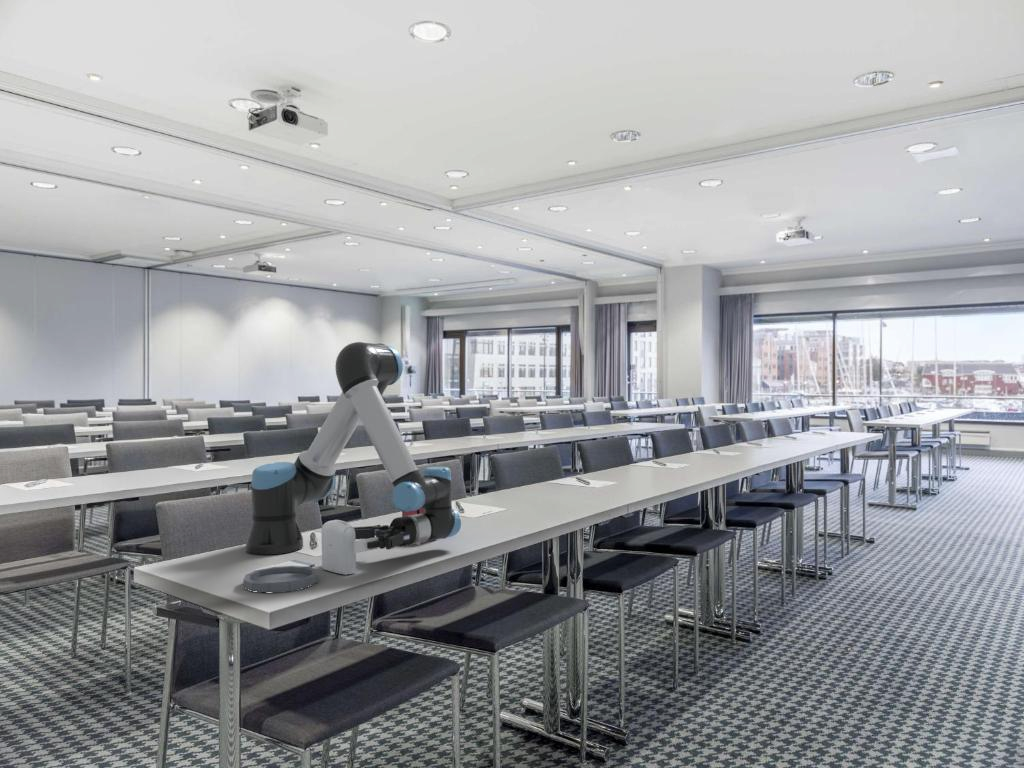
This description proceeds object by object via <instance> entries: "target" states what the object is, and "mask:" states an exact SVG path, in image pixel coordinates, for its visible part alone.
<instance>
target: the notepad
mask: <svg viewBox="0 0 1024 768" xmlns="http://www.w3.org/2000/svg"><path fill="white" fill-rule="evenodd" d="M282 566H304V567H310V568H312V567H311V566H314V567H316V566H315V563H312V562H311V563H310V562H308V561H307V562H306V561H302V560H298V559H293V560H289V561H285V562H280V563H276V564H272V565H267V566H264V567H260V568H255V569H253V572H254V571H256V570H261V569H266V568H272V567H282Z"/></svg>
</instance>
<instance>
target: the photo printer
mask: <svg viewBox="0 0 1024 768" xmlns="http://www.w3.org/2000/svg"><path fill="white" fill-rule="evenodd" d="M353 527H354V526H352V525H351V524H350V523H348V522H347V521H344V520H340V519H334V520H333V519H332V520H328V521H326V522H325V523H324V524H323V525H322V527H321V565H322V569H323V570H325V571H328V572H332V573H336V574H340V575H344V576H349V575H352V574H355V573H356V572H357V553H353V541H356V539H355V530H354V528H353ZM348 574H349V575H348Z"/></svg>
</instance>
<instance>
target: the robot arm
mask: <svg viewBox="0 0 1024 768" xmlns="http://www.w3.org/2000/svg"><path fill="white" fill-rule="evenodd" d="M334 367H335V375H336V379H337V382H338V385H339V387H340V389H341V393H340V395H339V396H338V398H337V400H336V402H335V404H334V405H333V407H332V409H331V410H330V412H329V414H328V415H327V416H326V418H325V420H324V422H323V424H322V426H321V427H320V429H319V430H318V433H317V434H316V436H315V438H314V440H313V441H312V442H311V445H310V446H309V447H308V449H307V450H303V451H300V452H299V455H298V456H297V457H296V459H295V461H294V463H293V462H291V461H280V462H279V461H278V462H277V461H276V462H273V463H272V462H271V463H266V464H262V465H259V466H257V467H256V468H254V469H253V472H252V474H251V482H250V483H251V484H250V485H251V511H252V513H251V514H252V519H251V520H252V522H251V527H250V530H249V533H248V535H247V537H246V538H247V539H246V541H245V552H247V553H248V554H252V555H262V556H263V555H264V556H265V555H280V554H286V553H293V552H296V551H299V550H301V549H303V548H302V547H304V538H303V535H302V532H301V530H300V525H299V524H298V521H297V507H299V506H303V505H307V504H312V503H316V502H319V501H321V500H323V499H325V498H327V497H328V496H329V495H330V493H331V492H332V491H333V489H334V486H335V483H336V482H335V481H336V479H335V473H336V471H337V470H336V467H335V464H336V462H337V460H338V459H339V457H340V455H341V453H342V452H343V450H344V448H345V446H347V443H348V441H349V440H350V439H351V437H352V435H353V433H354V432H355V430H356V428H357V427H358V425H359V423H360V422H362V425H363V427H364V429H365V431H366V434H367V435H368V437H369V439H370V441H371V443H372V446H373V447H374V450H375V451H376V454H377V455H378V458H379V460H380V461H381V463H382V465H383V467H384V469H385V472H386V474H387V475H388V478H389V480H390V482H391V484H392V486H393V490H392V492H391V500H392V504H393V506H394V507H395V508H396V509H397V510H399V511H401V512H402V511H404V512H409V511H415V510H419V509H420V508H423V507H424V513H423V514H415V515H409V516H404V517H402V516H399V517H395V518H393V519H392V521H391V522H390V524H389V525H387V524H385V525H380V524H377V525H367V526H352V527H353V528H354V530H355V541H353V553H356V554H357V553H359V554H360V553H364V552H369V551H374V550H378V549H380V550H383V549H385V550H391V549H394V548H396V547H399V548H401V547H402V548H403V547H407V546H410V545H411V546H412V545H417V546H420V545H421V543H425V542H426V543H427V542H432V541H431V540H435V541H437V540H441V539H443V540H444V539H447V538H451V537H454V536H456V535H457V534H458V533H459V532H460V530H461V527H462V520H461V517H460V514H459V512H458V511H457V510H455V509H454V508H453V506H452V505H453V503H452V502H453V501H452V499H453V498H452V493H453V492H452V488H453V486H452V484H453V480H452V471H451V468H449V467H447V466H429V467H425V468H424V470H423V475H421V473H420V471H419V469H418V467H417V464H416V463H415V461H414V459H413V456H412V455H411V453H410V450H409V449H408V447H407V445H406V443H405V440H404V439H403V436H402V434H401V432H400V431H399V428H398V427H397V424H396V422H395V420H394V418H393V416H392V415H391V412H390V411H389V409H388V407H387V404H386V402H385V399H384V398H383V394H384V392H385V390H386V389H387V388H388V387H389V386H392V385H394V384H396V383H398V381H399V380H400V378H401V377H402V373H403V369H404V365H403V360H402V356H401V355H400V353H399V351H398V350H397V349H395V347H393V346H391V345H388V344H385V343H379V342H378V343H371V342H361V341H355V342H351V343H348V344H347V345H346V346H344V347H343V348H342V349H341V350H340V352H339V353H338V354H337V357H336V361H335V366H334ZM300 548H301V549H300ZM298 549H299V550H298ZM295 550H296V551H295Z"/></svg>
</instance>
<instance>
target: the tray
mask: <svg viewBox="0 0 1024 768" xmlns="http://www.w3.org/2000/svg"><path fill="white" fill-rule="evenodd" d="M318 574H319V573H318V569H316V568H314V567H304V566H282V567H272V568H266V569H261V570H256V571H254V570H253V571H251V572H249V573H246V574H245V575H244V577H243V581H242V583H243V584H242V587H244V588H246V589H249V590H251V591H257V592H283V593H287V592H286V591H292V590H296V591H298V590H297V589H301V588H305V587H308V586H310V585H312V584H314V583H316V582H317V583H318V581H317V579H318V578H319V575H318ZM317 583H316V584H317ZM314 585H315V584H314ZM312 586H313V585H312ZM310 587H311V586H310ZM308 588H309V587H308ZM305 589H306V588H305ZM301 590H302V589H301ZM292 592H293V591H292Z"/></svg>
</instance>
